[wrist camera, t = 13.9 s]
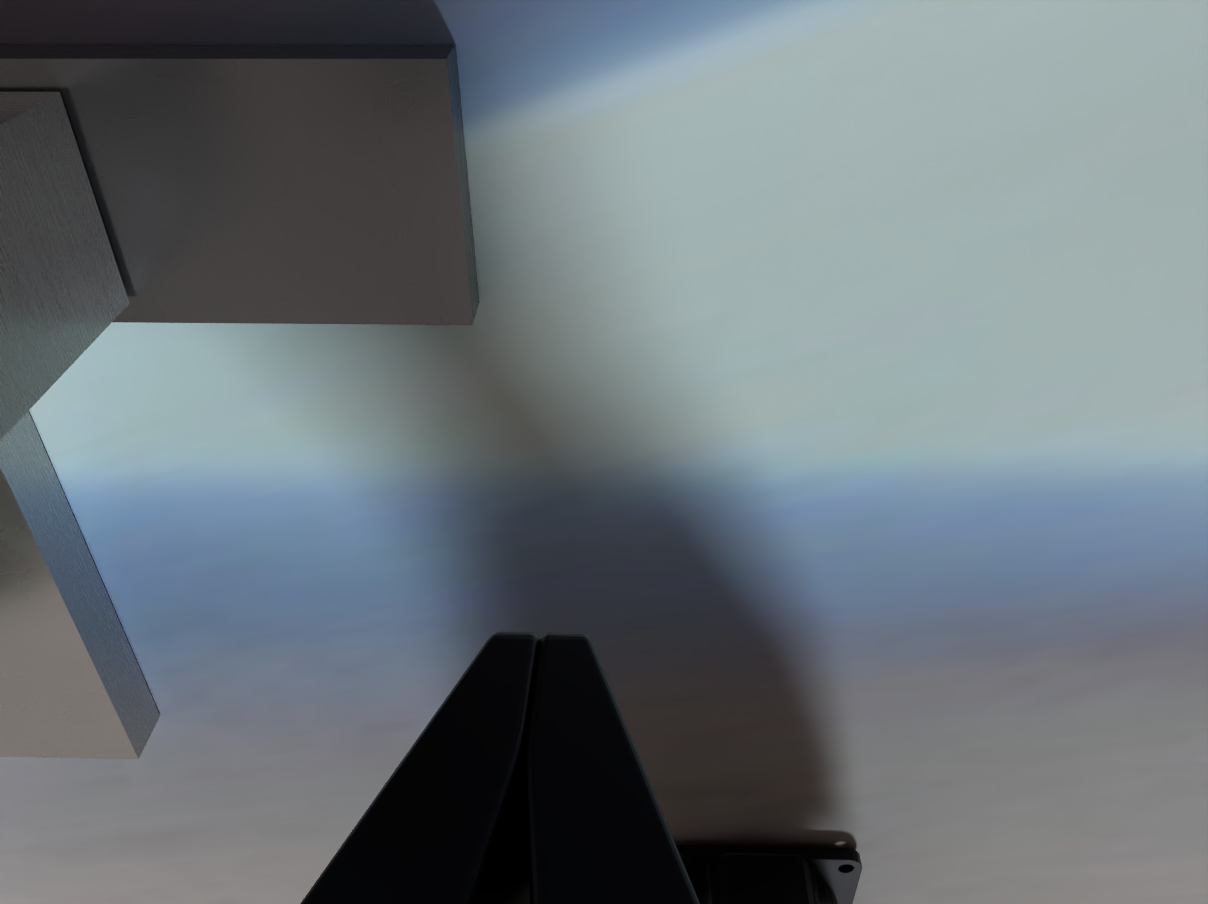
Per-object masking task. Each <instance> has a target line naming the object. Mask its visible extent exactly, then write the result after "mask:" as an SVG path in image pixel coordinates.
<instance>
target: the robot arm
mask: <svg viewBox="0 0 1208 904" xmlns="http://www.w3.org/2000/svg"><path fill="white" fill-rule="evenodd" d="M861 870H862V865H861V860H860V855H859V853H858V852H857V851H855V850H853V849H847V848H808V847H761V846H714V845H675V842H674V840H673V837H672V835H671V833H670V830H669V828H668V825H667V823H666V820H665V818H664V815H663V813H662V811H661V808H660V806H659V803H658V801H657V798H656V796H655V794H654V791H653V789H652V786H651V784H650V781H649V779H648V777H647V774H646V772H645V769H644V767H643V764H642V762H641V759H640V757H639V755H638V752H637V750H636V747H635V745H634V742H633V740H632V738H631V735H630V733H629V730H628V728H627V725H626V723H625V720H624V718H623V716H622V713H621V711H620V708H619V706H618V703H617V701H616V699H615V696H614V694H613V691H612V689H611V686H610V684H609V681H608V679H607V677H606V674H605V672H604V669H603V667H602V664H601V662H600V660H599V657H598V655H597V652H596V650H595V647H594V645H593V643H592V640H591V639H590V637H589V636H588V635H587V634H585V633H558V632H550V633H546V634H545V635H544V636H543V637H542V639H541V638H540V637H539V635H537V634H536V633H534V632H497V633H495V634H493V635H492V636H491V637H490V638H489V639H488V640H487V642H486V643H485V644H484V646H483V647H482V649H481V650H480V652H479V653H478V654H477V656H476V657H475V659H474V660H473V661H472V663H471V664H470V666H469V667H468V668H467V670H466V671H465V673H464V674H463V675H462V677H461V678H460V680H459V681H458V683H457V684H456V685H455V687H454V688H453V690H452V691H451V692H450V694H449V695H448V697H447V698H446V699H445V701H444V702H443V704H442V705H441V706H440V708H439V709H438V711H437V712H436V713H435V715H434V716H433V718H432V719H431V721H430V722H429V723H428V725H427V726H426V728H425V729H424V730H423V732H422V733H421V735H420V736H419V737H418V739H417V740H416V742H415V743H414V744H413V746H412V747H411V749H410V750H409V752H408V753H407V754H406V756H405V757H404V759H403V760H402V761H401V763H400V764H399V766H398V767H397V768H396V770H395V771H394V773H393V774H392V775H391V777H390V778H389V780H388V781H387V783H386V784H385V785H384V787H383V788H382V790H381V791H380V792H379V794H378V795H377V797H376V798H375V799H374V801H373V802H372V804H371V805H370V806H369V808H368V809H367V811H366V812H365V814H364V815H363V816H362V818H361V819H360V821H359V822H358V823H357V825H356V826H355V828H354V829H353V830H352V832H351V833H350V835H349V836H348V837H347V839H346V840H345V842H344V843H343V844H342V846H341V847H340V849H339V850H338V852H337V853H336V854H335V856H334V857H333V859H332V860H331V861H330V863H329V864H328V866H327V867H326V868H325V870H324V871H323V873H322V874H321V875H320V877H319V878H318V880H317V881H316V883H315V884H314V885H313V887H312V888H311V890H310V891H309V892H308V894H307V895H306V897H305V898H304V899H303V901H302V902H301V904H852V903H853V899H854V896H855V892H856V888H857V885H858V881H859V878H860V874H861Z"/></svg>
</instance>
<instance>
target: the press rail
mask: <svg viewBox="0 0 1208 904" xmlns="http://www.w3.org/2000/svg"><path fill="white" fill-rule="evenodd" d="M0 92H60V94H61V97H62V100H63V103H64V106H65V109H66V112H67V115H68V118H69V122H70V125H71V128H72V131H73V134H74V137H75V140H76V143H77V146H78V149H79V152H80V155H81V158H82V161H83V164H84V167H85V170H86V173H87V176H88V179H89V182H90V185H91V188H92V191H93V194H94V197H95V200H96V203H97V206H98V209H99V212H100V215H101V218H102V221H103V224H104V227H105V230H106V233H107V236H108V239H109V242H110V245H111V248H112V251H113V254H114V257H115V260H116V263H117V266H118V269H119V272H120V275H121V278H122V281H123V284H124V287H125V290H126V293H127V296H128V300H129V305H128V306H127V307H126V308H125V309H124V310H123V311H122V312H121V313H120V314H119V315H118V316H117V317H116V318H115V319H114V320H113V321H112V322H161V323H293V324H426V325H473V321H474V318H475V314H476V311H477V307H478V304H479V295H478V284H477V273H476V262H475V251H474V240H473V229H472V219H471V208H470V197H469V186H468V175H467V164H466V153H465V143H464V132H463V121H462V110H461V99H460V88H459V77H458V67H457V56H456V45H0Z"/></svg>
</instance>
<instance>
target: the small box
mask: <svg viewBox="0 0 1208 904" xmlns="http://www.w3.org/2000/svg"><path fill="white" fill-rule="evenodd" d="M128 305H129V300H128V296H127V293H126V290H125V287H124V284H123V281H122V278H121V275H120V272H119V269H118V266H117V263H116V260H115V257H114V254H113V251H112V248H111V245H110V242H109V239H108V236H107V233H106V230H105V227H104V224H103V221H102V218H101V215H100V212H99V209H98V206H97V203H96V200H95V197H94V194H93V191H92V188H91V185H90V182H89V179H88V176H87V173H86V170H85V167H84V164H83V161H82V158H81V155H80V152H79V149H78V146H77V143H76V140H75V137H74V134H73V131H72V128H71V125H70V122H69V118H68V115H67V112H66V109H65V106H64V103H63V100H62V97H61V94H60V92H0V440H1V439H2V438H3V437H4V436H5V435H6V434H7V433H8V432H9V431H10V430H11V429H12V428H13V427H14V425H15V424H16V423H17V422H18V421H19V420H20V419H21V418H22V417H23V416H24V415H25V414H26V413H27V412H28V411H29V410H30V408H31V407H32V406H33V405H34V404H35V403H36V402H37V401H38V400H39V399H40V398H41V397H42V396H43V395H44V394H45V393H46V392H47V390H48V389H49V388H50V387H51V386H52V385H53V384H54V383H55V382H56V381H57V380H58V379H59V378H60V377H61V376H62V375H63V373H64V372H65V371H66V370H67V369H68V368H69V367H70V366H71V365H72V364H73V363H74V362H75V361H76V360H77V359H78V358H79V356H80V355H81V354H82V353H83V352H84V351H85V350H86V349H87V348H88V347H89V346H90V345H91V344H92V343H93V342H94V341H95V340H96V338H97V337H98V336H99V335H100V334H101V333H102V332H103V331H104V330H105V329H106V328H107V327H108V326H109V325H110V324H111V323H112V321H113V320H114V319H115V318H116V317H117V316H118V315H119V314H120V313H121V312H122V311H123V310H124V309H125V308H126V307H127V306H128Z"/></svg>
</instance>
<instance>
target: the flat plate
mask: <svg viewBox="0 0 1208 904" xmlns="http://www.w3.org/2000/svg"><path fill="white" fill-rule="evenodd" d="M159 717H160V714H159V712H158V709H157V707H156V705H155V702H154V700H153V698H152V695H151V693H150V691H149V689H148V686H147V684H146V682H145V679H144V677H143V675H142V672H141V670H140V668H139V665H138V663H137V661H136V659H135V656H134V654H133V652H132V649H131V647H130V645H129V642H128V640H127V638H126V635H125V633H124V631H123V628H122V626H121V624H120V622H119V619H118V617H117V615H116V612H115V610H114V608H113V605H112V603H111V601H110V598H109V596H108V594H107V592H106V589H105V587H104V585H103V582H102V580H101V578H100V575H99V573H98V571H97V568H96V566H95V564H94V561H93V559H92V557H91V555H90V552H89V550H88V548H87V545H86V543H85V541H84V538H83V536H82V534H81V531H80V529H79V527H78V525H77V522H76V520H75V518H74V515H73V513H72V511H71V508H70V506H69V504H68V501H67V499H66V497H65V494H64V492H63V490H62V488H61V485H60V483H59V481H58V478H57V476H56V474H55V471H54V469H53V467H52V464H51V462H50V460H49V458H48V455H47V453H46V451H45V448H44V446H43V444H42V441H41V439H40V437H39V434H38V432H37V430H36V427H35V425H34V423H33V421H32V418H31V416H30V414H29V411H28V412H27V413H26V414H25V415H24V416H23V417H22V418H21V419H20V420H19V421H18V422H17V423H16V424H15V425H14V427H13V428H12V429H11V430H10V431H9V432H8V433H7V434H6V435H5V436H4V437H3V438H2V439H1V440H0V756H1V757H53V758H104V759H139V757H140V755H141V753H142V751H143V749H144V747H145V745H146V743H147V741H148V739H149V737H150V735H151V733H152V731H153V729H154V727H155V725H156V723H157V721H158V719H159Z"/></svg>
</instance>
